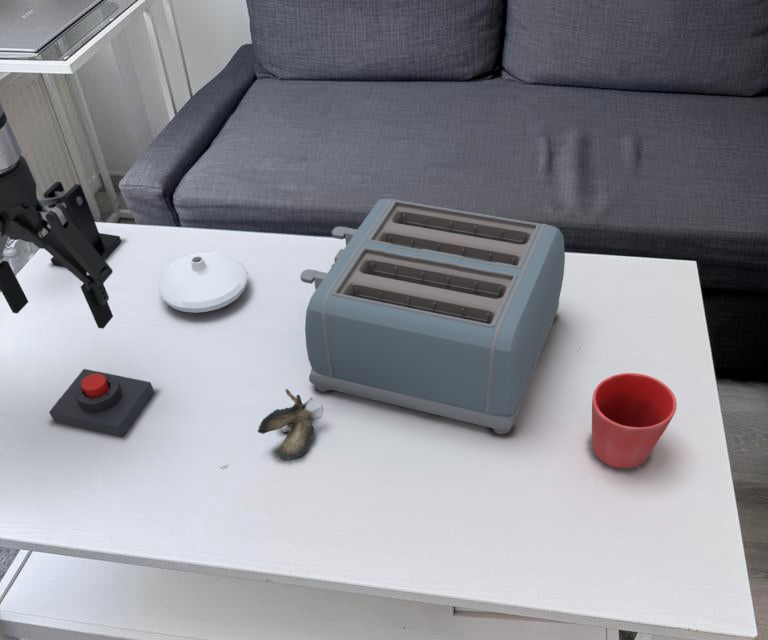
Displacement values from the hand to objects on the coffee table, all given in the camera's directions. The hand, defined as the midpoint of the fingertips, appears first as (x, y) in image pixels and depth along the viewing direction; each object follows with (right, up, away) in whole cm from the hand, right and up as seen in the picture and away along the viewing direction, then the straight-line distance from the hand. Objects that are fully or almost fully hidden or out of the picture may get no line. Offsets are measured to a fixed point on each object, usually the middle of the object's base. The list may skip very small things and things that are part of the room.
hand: (62, 314), depth 103 cm
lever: (-14, +25, +27) cm, 39 cm away
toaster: (+51, -1, +19) cm, 55 cm away
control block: (+1, -11, +13) cm, 17 cm away
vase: (+13, +11, +30) cm, 34 cm away
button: (+1, -9, +11) cm, 14 cm away
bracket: (-12, +22, +39) cm, 47 cm away
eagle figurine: (+31, -16, +8) cm, 36 cm away
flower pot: (+78, -18, +4) cm, 80 cm away
